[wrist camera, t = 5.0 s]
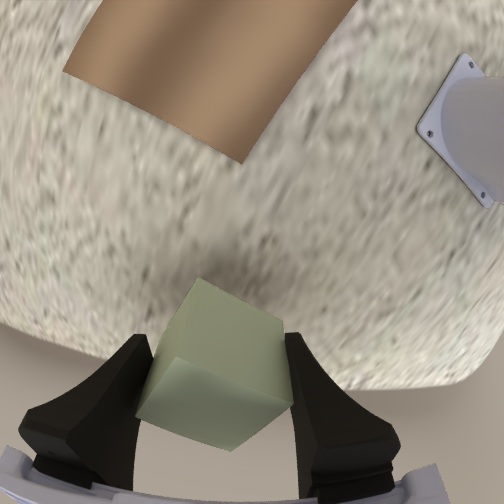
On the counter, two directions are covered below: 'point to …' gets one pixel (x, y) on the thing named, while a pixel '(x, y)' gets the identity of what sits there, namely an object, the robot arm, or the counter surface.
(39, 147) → the counter surface
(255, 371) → the sage cube
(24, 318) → the counter surface
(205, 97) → the walnut block
